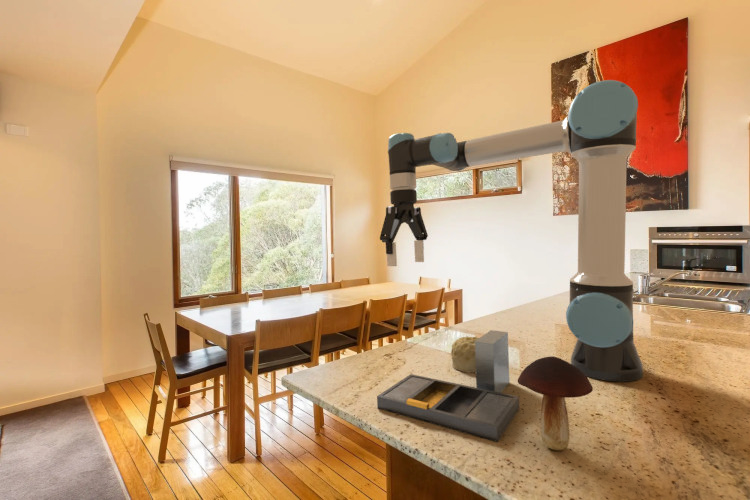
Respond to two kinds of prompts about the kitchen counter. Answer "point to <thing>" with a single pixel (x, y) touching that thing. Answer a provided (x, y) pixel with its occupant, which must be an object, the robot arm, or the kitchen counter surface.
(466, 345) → the decorative item
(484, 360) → the panel
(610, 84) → the robot arm
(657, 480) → the kitchen counter surface
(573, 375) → the decorative mushroom
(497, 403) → the rack
